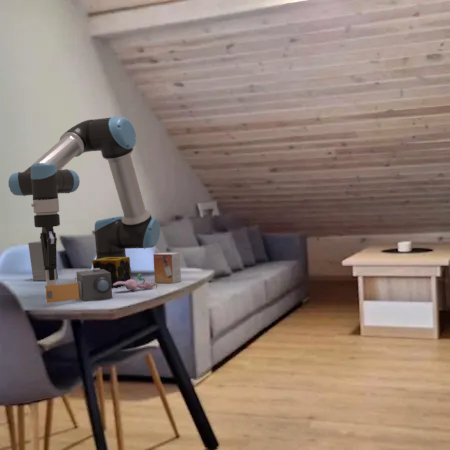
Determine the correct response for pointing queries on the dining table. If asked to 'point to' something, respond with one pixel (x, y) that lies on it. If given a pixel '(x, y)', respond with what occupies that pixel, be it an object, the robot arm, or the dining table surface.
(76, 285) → the side door
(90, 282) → the camera body
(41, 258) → the skincare box
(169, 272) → the small box
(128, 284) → the pink creature figurine
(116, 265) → the candle
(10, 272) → the dining table surface
